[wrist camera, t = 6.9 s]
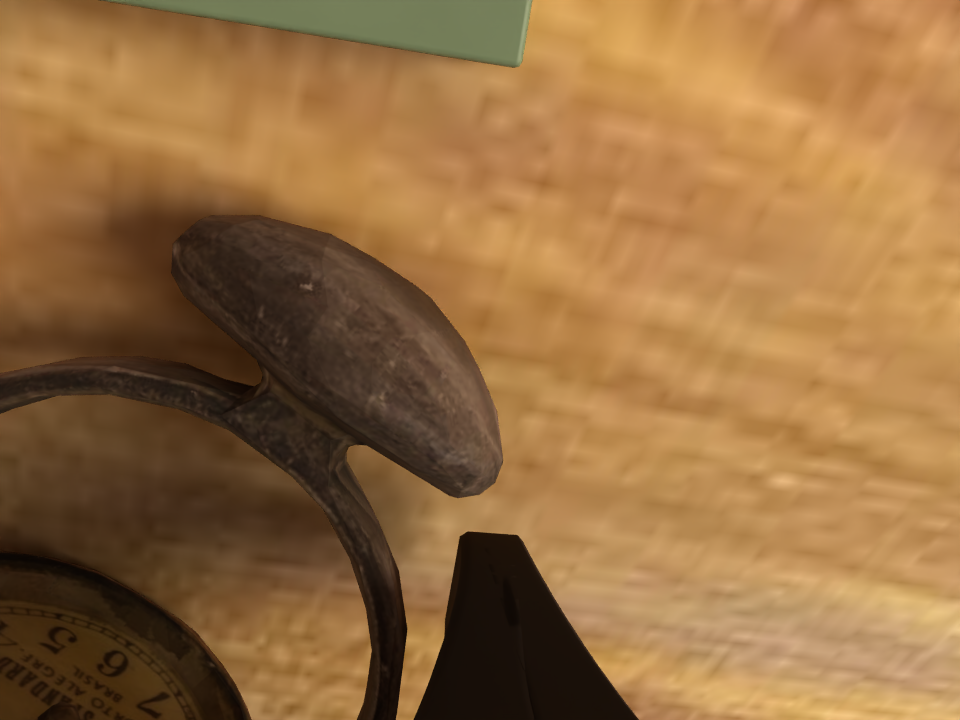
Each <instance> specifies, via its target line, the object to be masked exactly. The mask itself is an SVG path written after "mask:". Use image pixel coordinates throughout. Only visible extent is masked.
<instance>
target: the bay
mask: <svg viewBox="0 0 960 720" xmlns="http://www.w3.org/2000/svg"><path fill="white" fill-rule="evenodd" d="M100 1H107V2H113V3H119V4H125V5H131V6H137V7H143V8H150V9H156V10H162V11H168V12H174V13H180V14H186V15H193V16H199V17H205V18H211V19H217V20H223V21H229V22H236V23H242V24H248V25H254V26H260V27H266V28H272V29H279V30H285V31H291V32H297V33H303V34H309V35H315V36H322V37H328V38H334V39H340V40H346V41H352V42H358V43H365V44H371V45H377V46H383V47H389V48H395V49H401V50H408V51H414V52H420V53H426V54H432V55H438V56H444V57H451V58H457V59H463V60H469V61H475V62H481V63H487V64H494V65H500V66H506V67H512V68H515V67H519V66H520V64H521V63H522V60H523V54H524V48H525V42H526V36H527V30H528V24H529V18H530V11H531V5H532V0H100Z"/></svg>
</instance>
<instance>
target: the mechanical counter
mask: <svg viewBox="0 0 960 720" xmlns="http://www.w3.org/2000/svg"><path fill="white" fill-rule="evenodd" d="M171 273H172V275H173V277H174V279H175V281H176V282H177V284H178V286H179V288H180V290H181V292H182V293H183V295H184V296H185V297H186V298H187V299H188V300H189V301H190V302H191V303H193V304H194V305H195V306H196V307H197V308H198V309H199V310H201V311H202V312H203V313H204V314H205V315H206V316H207V317H208V318H210V319H211V320H212V321H213V322H214V323H215V324H216V325H218V326H219V327H220V328H221V329H222V330H223V331H224V332H226V333H227V334H228V335H229V336H230V337H231V338H232V339H234V340H235V341H236V342H237V343H238V344H239V345H240V346H242V347H243V348H244V349H245V350H246V351H247V352H248V353H249V354H251V355H252V356H253V357H254V358H255V359H256V360H257V362H258V364H259V366H260V369H261V371H262V373H263V377H262V380H261V383H260V384H258V385H256V386H250V385H246V384H242V383H238V382H234V381H230V380H226V379H223V378H220V377H218V376H215V375H213V374H210V373H208V372H206V371H203V370H201V369H198V368H196V367H193V366H191V365H188V364H186V363H180V362H174V361H168V360H162V359H155V358H149V357H143V356H109V357H80V358H75V359H70V360H65V361H60V362H55V363H50V364H45V365H40V366H35V367H30V368H25V369H20V370H14V371H9V372H4V373H0V414H1V413H4V412H6V411H9V410H11V409H14V408H17V407H21V406H24V405H28V404H31V403H35V402H38V401H41V400H45V399H48V398H52V397H55V396H65V395H114V396H119V397H123V398H128V399H133V400H138V401H143V402H147V403H152V404H157V405H162V406H166V407H171V408H176V409H179V410H182V411H184V412H187V413H189V414H191V415H194V416H196V417H198V418H201V419H203V420H206V421H208V422H210V423H213V424H215V425H217V426H220V427H222V428H225V429H227V430H229V431H231V432H232V433H233V434H235V435H236V436H238V437H239V438H240V439H242V440H243V441H244V442H246V443H247V444H248V445H250V446H251V447H253V448H254V449H255V450H257V451H258V452H259V453H261V454H262V455H263V456H265V457H266V458H268V459H269V460H270V461H272V462H273V463H274V464H276V465H277V466H278V467H280V468H281V469H283V470H284V471H285V472H287V473H288V474H289V475H291V476H292V477H293V478H294V479H295V480H296V481H297V482H298V483H299V484H300V485H301V487H302V488H303V489H304V490H305V491H306V492H307V493H308V494H309V495H310V496H311V497H312V498H313V499H314V500H315V501H316V502H317V503H318V504H319V505H320V506H321V507H322V509H323V510H324V512H325V514H326V516H327V518H328V519H329V521H330V523H331V525H332V527H333V529H334V530H335V532H336V534H337V536H338V538H339V540H340V541H341V543H342V545H343V547H344V549H345V550H346V552H347V554H348V556H349V558H350V560H351V564H352V567H353V570H354V573H355V576H356V579H357V582H358V585H359V588H360V591H361V594H362V597H363V600H364V604H365V607H366V612H367V619H368V626H369V633H370V640H371V647H372V653H371V661H370V668H369V675H368V682H367V688H366V693H365V699H364V703H363V706H362V708H361V711H360V713H359V716H358V718H357V720H396V715H397V708H398V700H399V692H400V684H401V676H402V668H403V660H404V652H405V644H406V636H407V624H406V617H405V610H404V603H403V597H402V590H401V583H400V576H399V571H398V568H397V566H396V563H395V561H394V558H393V556H392V553H391V551H390V548H389V546H388V543H387V541H386V539H385V536H384V534H383V531H382V529H381V526H380V524H379V521H378V519H377V517H376V515H375V513H374V511H373V509H372V507H371V505H370V504H369V502H368V500H367V498H366V496H365V494H364V492H363V490H362V488H361V486H360V484H359V482H358V480H357V479H356V477H355V475H354V473H353V471H352V470H351V468H350V466H349V464H348V463H347V455H346V452H347V449H348V447H349V446H353V445H367V446H369V447H371V448H372V449H374V450H376V451H377V452H379V453H380V454H382V455H384V456H385V457H387V458H389V459H390V460H392V461H394V462H395V463H397V464H398V465H400V466H402V467H403V468H405V469H407V470H408V471H410V472H412V473H413V474H415V475H416V476H418V477H420V478H421V479H423V480H425V481H426V482H428V483H430V484H431V485H433V486H434V487H436V488H438V489H439V490H441V491H443V492H444V493H446V494H448V495H449V496H452V497H456V498H461V497H467V496H474V495H480V494H481V493H482V492H483V491H485V490H486V489H487V488H489V487H490V486H491V485H492V484H494V483H495V481H496V479H497V476H498V473H499V471H500V468H501V466H502V463H503V455H502V447H501V439H500V431H499V423H498V415H497V410H496V408H495V405H494V403H493V401H492V398H491V396H490V393H489V391H488V388H487V386H486V384H485V381H484V379H483V376H482V374H481V372H480V369H479V367H478V365H477V364H476V362H475V360H474V358H473V356H472V354H471V352H470V350H469V348H468V346H467V345H466V343H465V341H464V339H463V338H462V337H461V336H460V334H459V333H458V332H457V330H456V329H455V328H454V327H453V325H452V324H451V323H450V322H449V320H448V319H447V318H446V316H445V315H444V314H443V313H442V311H441V310H440V309H439V308H438V306H437V305H436V304H435V303H434V301H433V300H432V299H431V298H430V297H429V296H428V295H427V294H425V293H424V292H423V291H422V290H421V289H419V288H418V287H417V286H415V285H414V284H412V283H411V282H409V281H408V280H406V279H405V278H403V277H402V276H400V275H399V274H397V273H396V272H394V271H393V270H391V269H390V268H388V267H387V266H385V265H384V264H382V263H381V262H379V261H378V260H376V259H375V258H373V257H371V256H370V255H368V254H366V253H364V252H362V251H361V250H359V249H357V248H355V247H353V246H351V245H350V244H348V243H346V242H344V241H342V240H341V239H339V238H337V237H335V236H333V235H331V234H328V233H324V232H321V231H317V230H313V229H309V228H305V227H301V226H298V225H294V224H290V223H286V222H282V221H278V220H275V219H271V218H267V217H263V216H226V215H212V216H209V217H206V218H204V219H201V220H199V221H197V222H196V223H195V224H194V225H193V226H191V227H190V228H189V229H188V230H187V231H185V232H184V233H183V234H182V235H181V236H180V237H179V238H178V239H177V240H176V241H175V242H174V244H173V251H172V269H171ZM0 720H251V717H250V714H249V712H248V709H247V706H246V704H245V702H244V700H243V698H242V696H241V694H240V692H239V690H238V688H237V686H236V684H235V683H234V681H233V680H232V678H231V677H230V675H229V674H228V672H227V671H226V669H225V668H224V666H223V665H222V663H221V662H220V661H219V660H218V658H217V657H216V656H215V655H214V654H213V652H212V651H211V650H210V649H209V647H208V646H207V645H206V644H205V643H204V641H203V640H202V639H201V638H200V636H199V635H198V634H197V633H196V632H195V631H194V630H193V629H192V628H190V627H189V626H188V625H187V624H185V623H184V622H183V621H182V620H180V619H179V618H177V617H176V616H174V615H172V614H171V613H169V612H168V611H166V610H164V609H163V608H161V607H160V606H158V605H156V604H155V603H153V602H151V601H150V600H148V599H147V598H145V597H143V596H142V595H140V594H139V593H137V592H135V591H133V590H131V589H130V588H128V587H126V586H124V585H122V584H120V583H118V582H116V581H114V580H113V579H111V578H109V577H107V576H105V575H103V574H101V573H99V572H97V571H95V570H91V569H88V568H85V567H81V566H78V565H74V564H71V563H68V562H64V561H61V560H57V559H53V558H47V557H41V556H34V555H27V554H20V553H13V552H6V551H0Z"/></svg>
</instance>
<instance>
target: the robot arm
mask: <svg viewBox="0 0 960 720" xmlns="http://www.w3.org/2000/svg"><path fill="white" fill-rule="evenodd" d="M414 720H639V719H638V718H637V717H636V715H635V714H634V713H633V712H632V710H631V709H630V708H629V707H628V705H627V704H626V703H625V701H624V700H623V699H622V697H621V696H620V695H619V693H618V692H617V691H616V689H615V688H614V687H613V685H612V684H611V683H610V681H609V680H608V678H607V677H606V676H605V674H604V673H603V672H602V670H601V669H600V667H599V666H598V665H597V663H596V662H595V660H594V659H593V657H592V656H591V655H590V653H589V652H588V650H587V649H586V647H585V646H584V644H583V643H582V641H581V640H580V638H579V636H578V635H577V633H576V632H575V630H574V629H573V627H572V626H571V624H570V623H569V621H568V620H567V618H566V616H565V615H564V613H563V612H562V610H561V608H560V607H559V605H558V603H557V602H556V600H555V599H554V597H553V595H552V593H551V592H550V590H549V588H548V587H547V585H546V583H545V581H544V580H543V578H542V576H541V574H540V573H539V571H538V569H537V567H536V565H535V564H534V562H533V560H532V558H531V556H530V554H529V552H528V550H527V549H526V547H525V545H524V543H523V541H522V540H521V539H520V537H519V536H518V535H508V534H495V533H481V532H466V533H465V534H463V535H462V536H460V539H459V544H458V550H457V556H456V561H455V567H454V573H453V578H452V584H451V589H450V595H449V601H448V606H447V612H446V618H445V637H444V641H443V643H442V646H441V649H440V652H439V655H438V658H437V661H436V664H435V667H434V670H433V672H432V675H431V678H430V681H429V683H428V686H427V689H426V691H425V694H424V696H423V699H422V701H421V704H420V706H419V708H418V711H417V713H416V715H415V718H414Z"/></svg>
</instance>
